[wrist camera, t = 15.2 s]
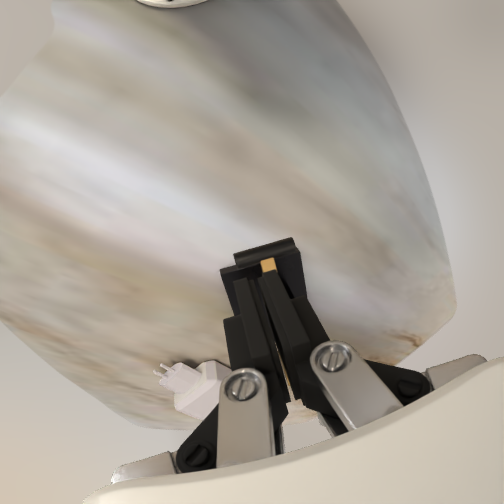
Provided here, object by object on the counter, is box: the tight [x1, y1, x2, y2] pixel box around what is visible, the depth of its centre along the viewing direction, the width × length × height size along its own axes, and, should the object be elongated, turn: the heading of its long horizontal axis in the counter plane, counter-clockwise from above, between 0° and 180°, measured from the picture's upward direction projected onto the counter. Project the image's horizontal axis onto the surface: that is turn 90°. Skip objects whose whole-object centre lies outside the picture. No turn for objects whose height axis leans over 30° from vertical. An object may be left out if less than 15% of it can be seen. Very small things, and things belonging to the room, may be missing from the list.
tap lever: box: [233, 237, 296, 386], centre depth 25 cm, size 13×5×2 cm, turn 13°
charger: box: [153, 360, 232, 421], centre depth 38 cm, size 5×9×15 cm
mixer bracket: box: [220, 247, 307, 341], centre depth 30 cm, size 12×9×13 cm
